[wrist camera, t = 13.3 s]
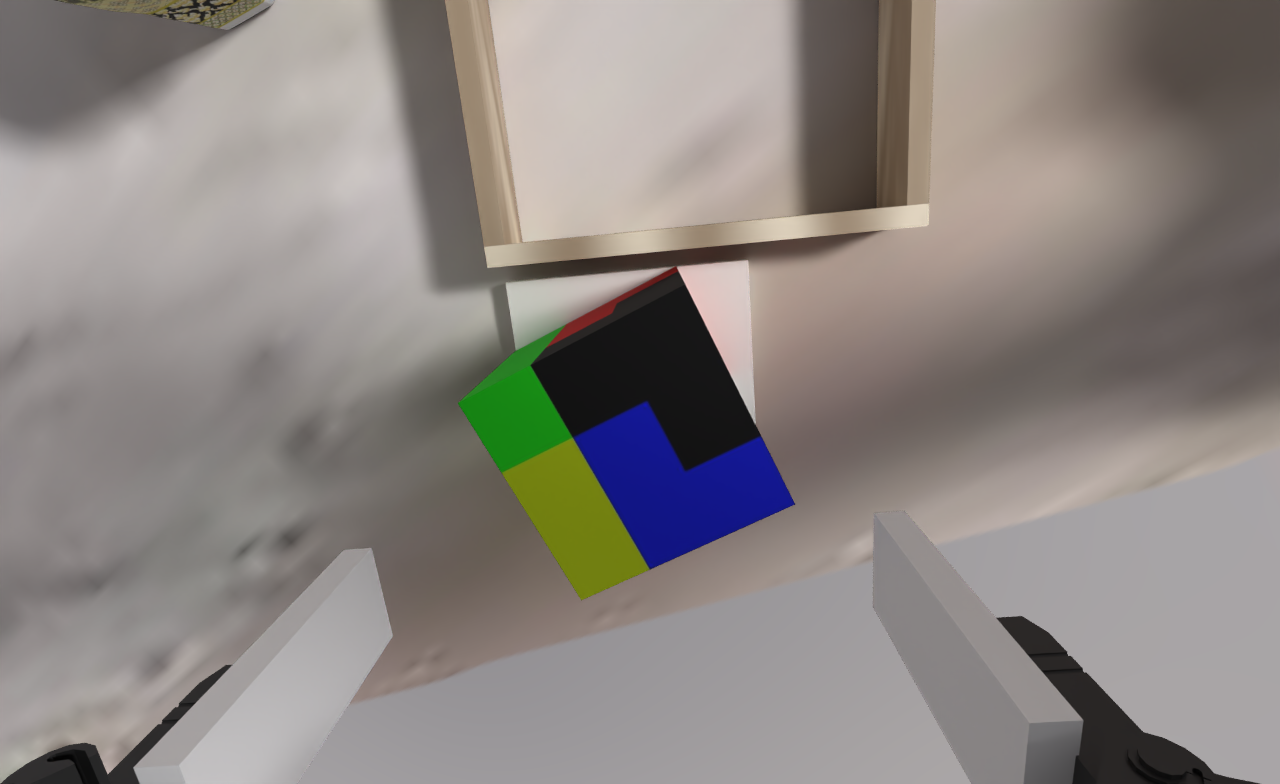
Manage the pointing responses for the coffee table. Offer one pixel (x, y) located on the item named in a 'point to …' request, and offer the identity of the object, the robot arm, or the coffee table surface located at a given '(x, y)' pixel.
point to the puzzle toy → (626, 437)
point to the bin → (898, 206)
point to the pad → (570, 297)
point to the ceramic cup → (186, 9)
